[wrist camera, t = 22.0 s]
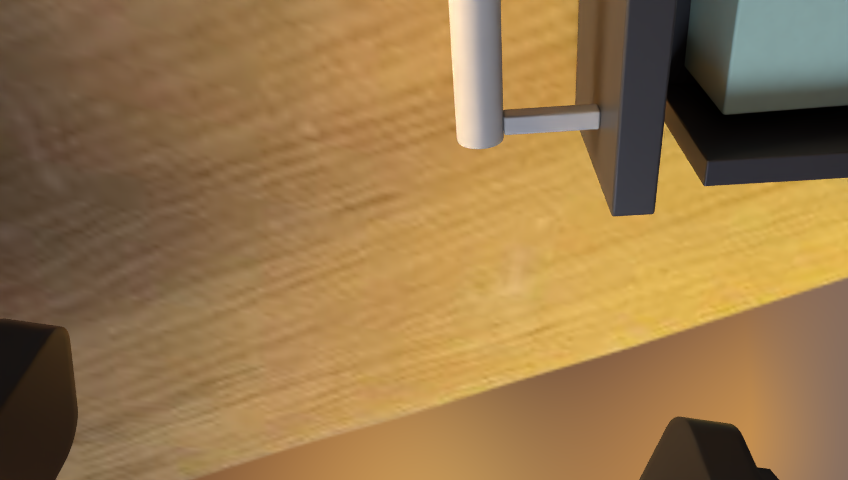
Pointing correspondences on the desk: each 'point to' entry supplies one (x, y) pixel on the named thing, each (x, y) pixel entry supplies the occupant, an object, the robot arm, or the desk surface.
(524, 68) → the desk surface
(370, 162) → the desk surface
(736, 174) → the drawer
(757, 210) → the desk surface
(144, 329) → the desk surface
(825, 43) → the block
